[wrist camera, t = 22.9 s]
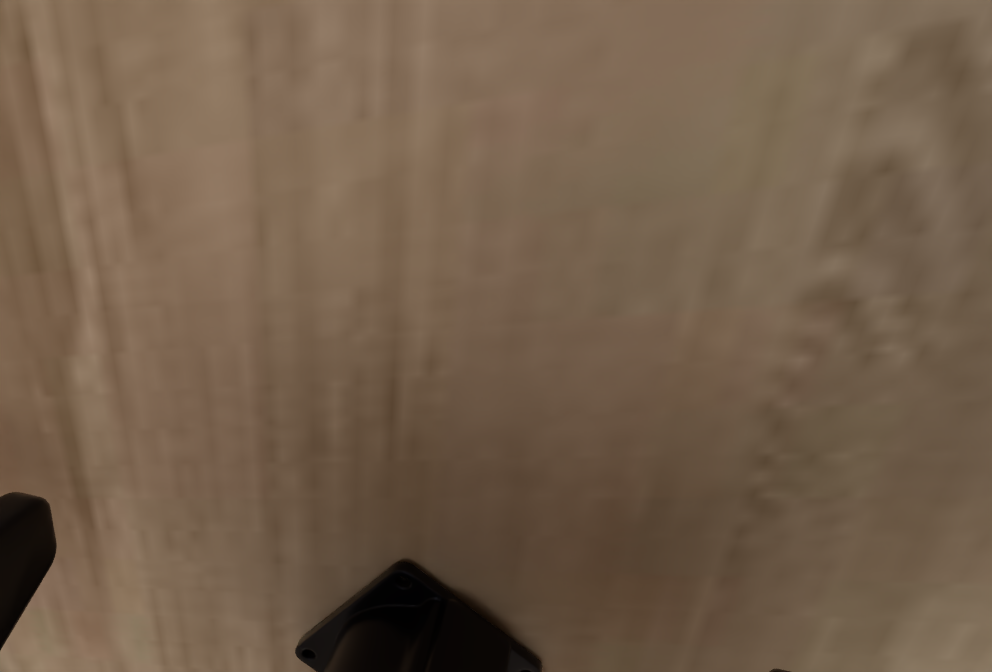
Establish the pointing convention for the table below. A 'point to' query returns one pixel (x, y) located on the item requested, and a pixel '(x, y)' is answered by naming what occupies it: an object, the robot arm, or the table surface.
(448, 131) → the table surface
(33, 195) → the table surface
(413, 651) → the robot arm
